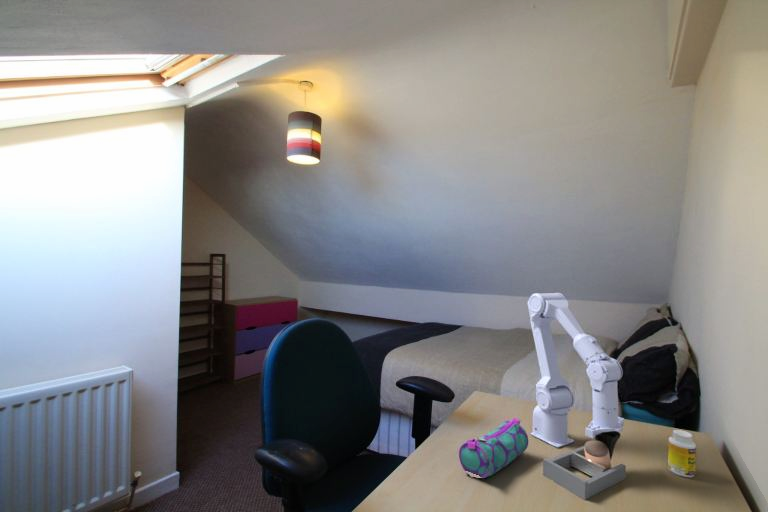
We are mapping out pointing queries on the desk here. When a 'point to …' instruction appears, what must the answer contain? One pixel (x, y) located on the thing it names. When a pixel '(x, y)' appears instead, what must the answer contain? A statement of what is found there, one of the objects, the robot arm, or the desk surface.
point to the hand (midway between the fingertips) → (605, 459)
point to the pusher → (586, 465)
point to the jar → (598, 453)
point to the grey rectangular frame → (576, 484)
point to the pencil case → (493, 449)
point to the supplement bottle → (682, 454)
